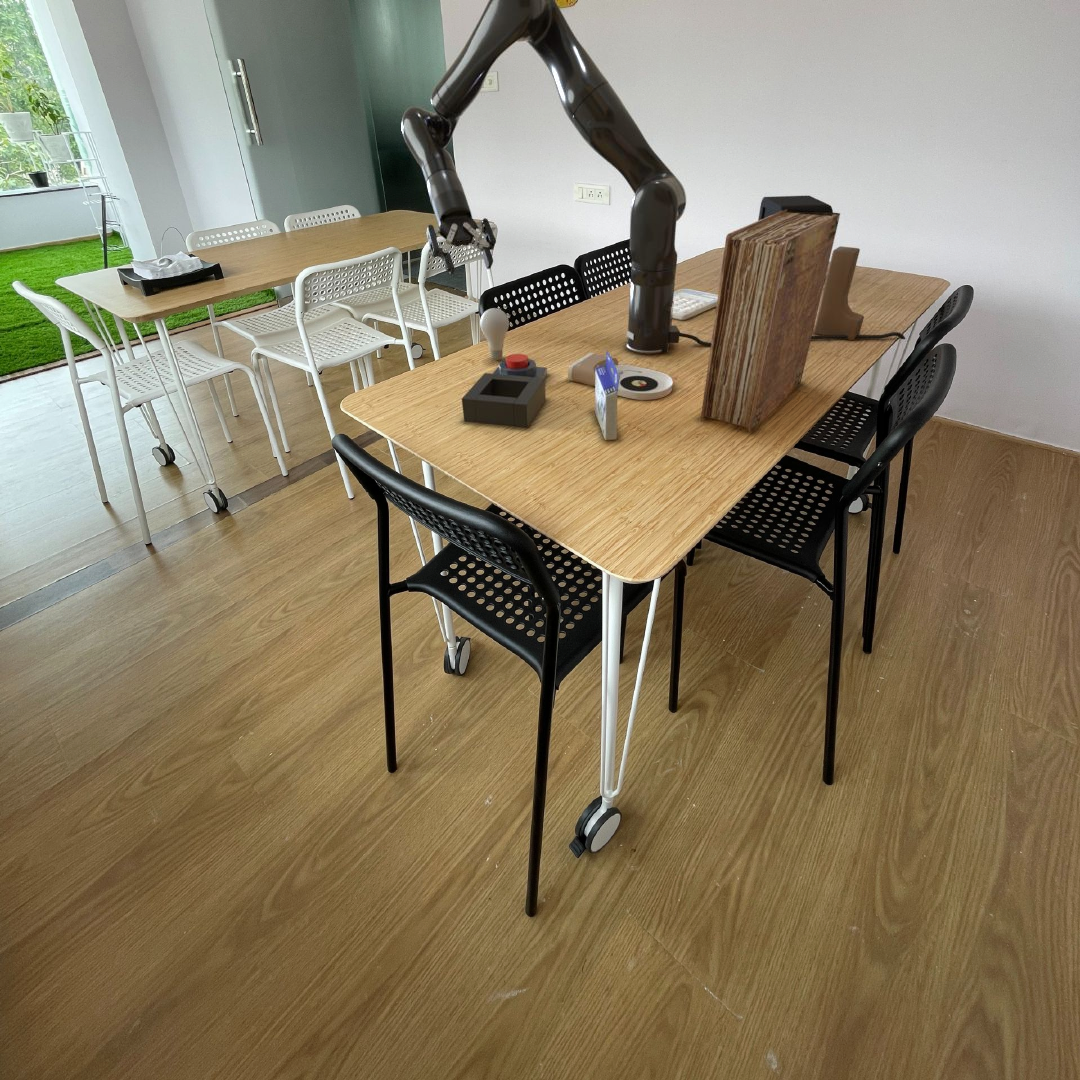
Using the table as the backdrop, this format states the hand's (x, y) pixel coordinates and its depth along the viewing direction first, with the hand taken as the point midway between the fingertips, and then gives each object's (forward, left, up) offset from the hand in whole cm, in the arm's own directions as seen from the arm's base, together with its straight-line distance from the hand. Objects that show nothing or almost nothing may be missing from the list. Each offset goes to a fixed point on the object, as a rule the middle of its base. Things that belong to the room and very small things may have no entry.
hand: (471, 269), depth 134 cm
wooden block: (-80, -23, -17) cm, 84 cm away
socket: (-18, +32, -16) cm, 40 cm away
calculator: (-44, -38, -17) cm, 60 cm away
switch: (-16, +18, -16) cm, 29 cm away
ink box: (-37, +34, -17) cm, 53 cm away
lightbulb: (-8, +8, -17) cm, 20 cm away
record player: (-37, +15, -17) cm, 43 cm away
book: (-61, +19, -17) cm, 66 cm away
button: (-16, +18, -13) cm, 28 cm away
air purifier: (-70, -73, -17) cm, 102 cm away
